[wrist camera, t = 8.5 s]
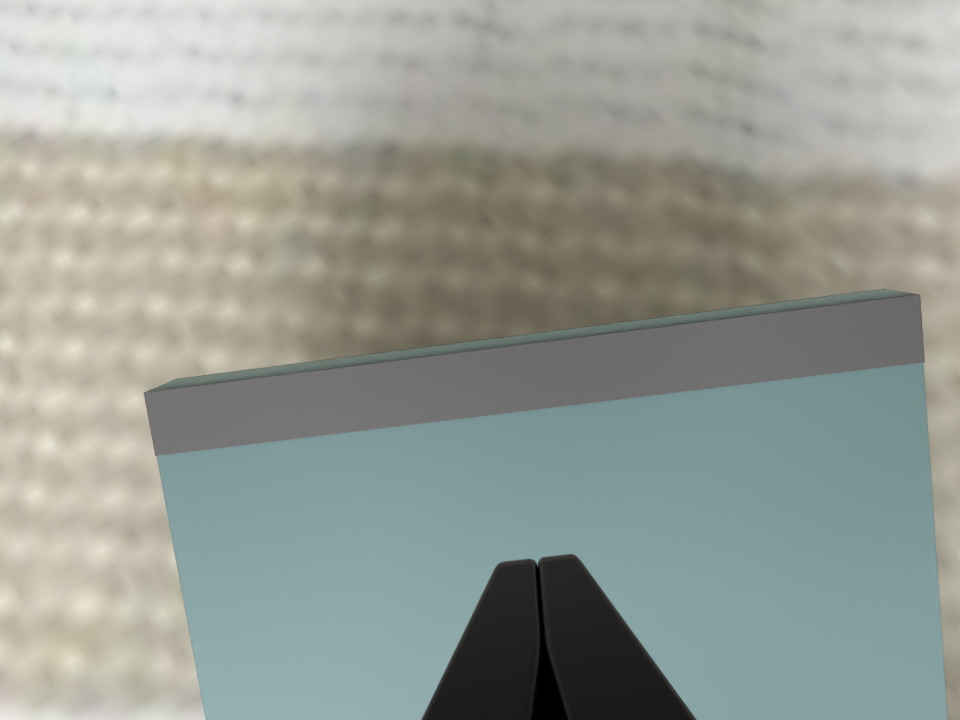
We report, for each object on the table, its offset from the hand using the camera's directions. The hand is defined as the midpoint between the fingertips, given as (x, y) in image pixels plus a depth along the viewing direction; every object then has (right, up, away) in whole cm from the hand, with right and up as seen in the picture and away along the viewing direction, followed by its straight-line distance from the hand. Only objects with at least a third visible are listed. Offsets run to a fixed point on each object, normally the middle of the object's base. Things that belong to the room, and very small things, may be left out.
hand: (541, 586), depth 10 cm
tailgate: (+2, -7, +10) cm, 12 cm away
